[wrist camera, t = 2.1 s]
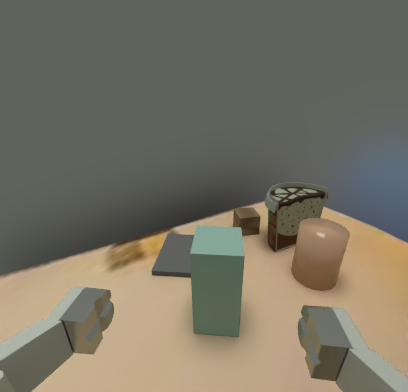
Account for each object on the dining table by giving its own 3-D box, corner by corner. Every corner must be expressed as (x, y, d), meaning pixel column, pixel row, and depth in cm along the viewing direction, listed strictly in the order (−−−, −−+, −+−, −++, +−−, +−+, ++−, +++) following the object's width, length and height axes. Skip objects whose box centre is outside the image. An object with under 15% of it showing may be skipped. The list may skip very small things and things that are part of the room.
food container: (294, 222, 47) (302, 177, 43) (319, 236, 42) (330, 187, 38) (247, 236, 42) (250, 188, 38) (268, 254, 37) (275, 201, 33)
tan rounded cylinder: (325, 262, 35) (336, 218, 32) (343, 291, 30) (359, 242, 27) (287, 260, 36) (294, 217, 33) (298, 289, 30) (308, 240, 27)
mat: (220, 239, 41) (220, 236, 41) (218, 278, 32) (218, 274, 32) (168, 237, 42) (168, 233, 42) (152, 274, 33) (151, 270, 33)
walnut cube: (251, 224, 47) (252, 207, 45) (258, 234, 43) (260, 216, 42) (233, 225, 46) (233, 208, 45) (239, 236, 43) (240, 218, 41)
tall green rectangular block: (236, 298, 29) (241, 226, 25) (238, 337, 24) (244, 256, 20) (199, 296, 29) (196, 224, 25) (193, 333, 25) (189, 253, 20)
